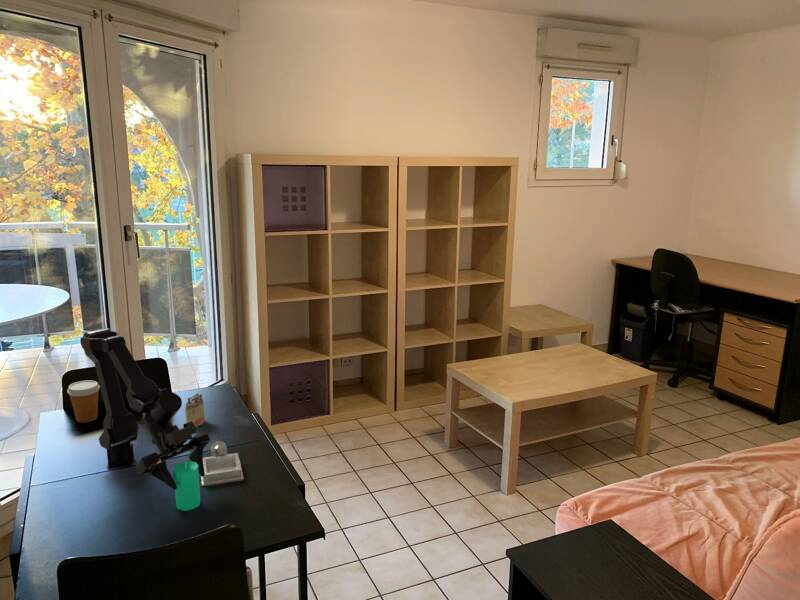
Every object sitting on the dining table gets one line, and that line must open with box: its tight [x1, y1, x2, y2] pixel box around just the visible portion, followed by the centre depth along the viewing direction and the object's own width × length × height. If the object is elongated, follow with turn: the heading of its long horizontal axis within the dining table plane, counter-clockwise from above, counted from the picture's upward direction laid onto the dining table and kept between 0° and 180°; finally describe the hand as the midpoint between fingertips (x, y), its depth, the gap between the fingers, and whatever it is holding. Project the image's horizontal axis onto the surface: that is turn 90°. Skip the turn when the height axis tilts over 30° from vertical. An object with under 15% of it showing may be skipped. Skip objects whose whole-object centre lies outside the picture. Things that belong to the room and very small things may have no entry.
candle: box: [172, 460, 201, 512], centre depth 154 cm, size 6×6×12 cm
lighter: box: [185, 393, 206, 428], centre depth 199 cm, size 7×4×10 cm, turn 158°
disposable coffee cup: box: [66, 379, 101, 424], centre depth 201 cm, size 10×10×12 cm
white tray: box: [200, 440, 245, 488], centre depth 172 cm, size 11×17×4 cm, turn 20°
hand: (190, 482), depth 153 cm, fingers open, 8 cm apart
